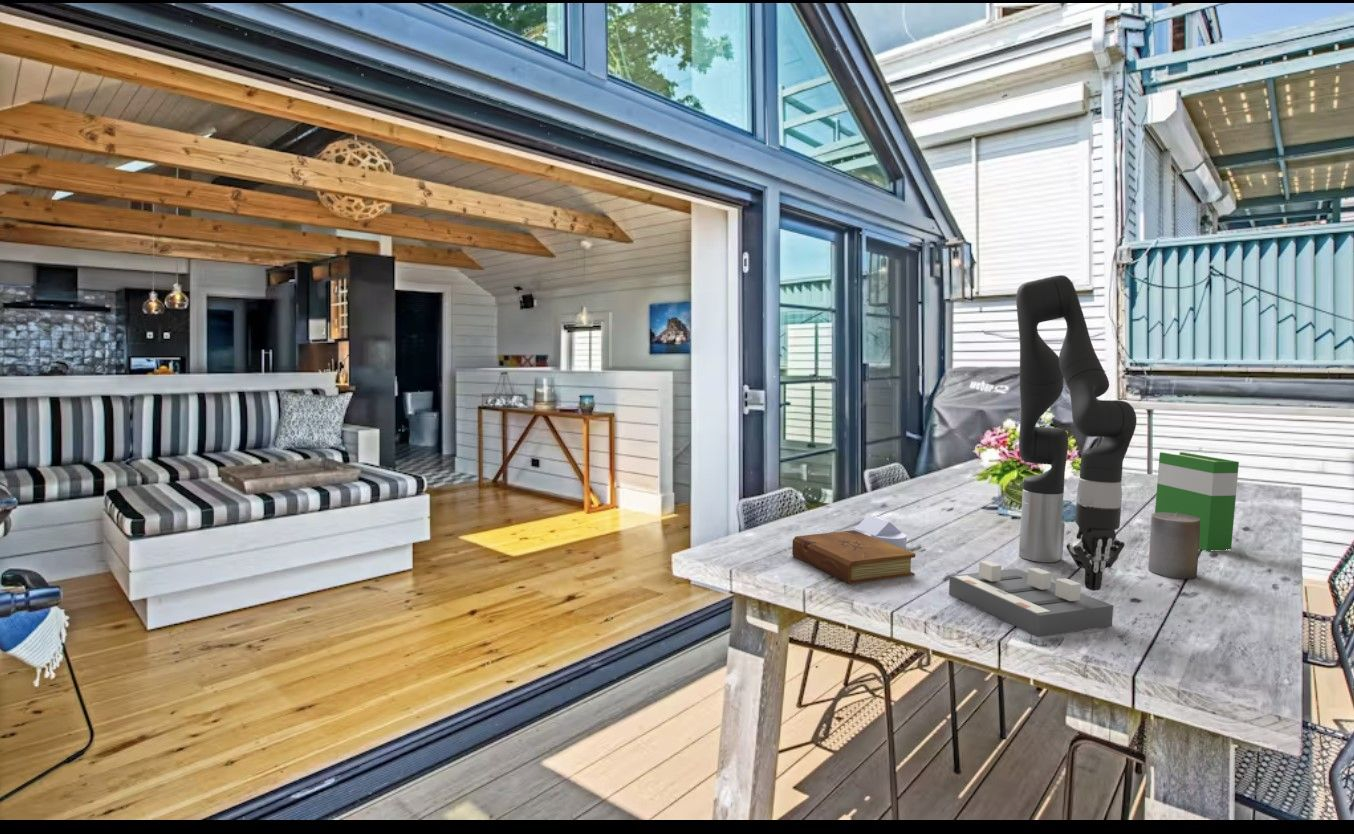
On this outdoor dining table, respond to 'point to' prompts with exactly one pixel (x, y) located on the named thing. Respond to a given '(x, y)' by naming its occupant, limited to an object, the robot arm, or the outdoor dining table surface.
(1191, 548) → the pillar candle
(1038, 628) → the panel
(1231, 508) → the hardback book
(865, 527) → the wedge on round base
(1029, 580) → the switch tab
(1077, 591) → the switch tab
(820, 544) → the diary
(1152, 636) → the outdoor dining table surface
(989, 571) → the switch tab
